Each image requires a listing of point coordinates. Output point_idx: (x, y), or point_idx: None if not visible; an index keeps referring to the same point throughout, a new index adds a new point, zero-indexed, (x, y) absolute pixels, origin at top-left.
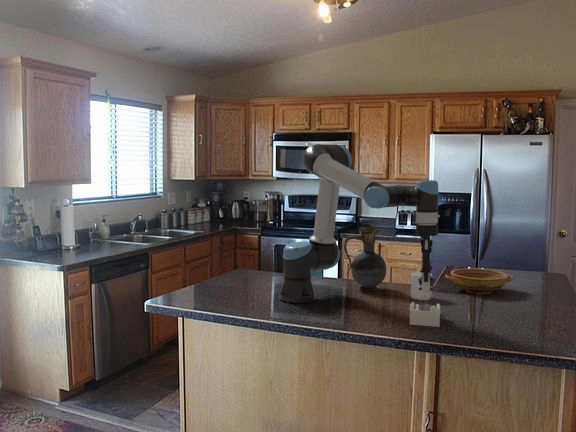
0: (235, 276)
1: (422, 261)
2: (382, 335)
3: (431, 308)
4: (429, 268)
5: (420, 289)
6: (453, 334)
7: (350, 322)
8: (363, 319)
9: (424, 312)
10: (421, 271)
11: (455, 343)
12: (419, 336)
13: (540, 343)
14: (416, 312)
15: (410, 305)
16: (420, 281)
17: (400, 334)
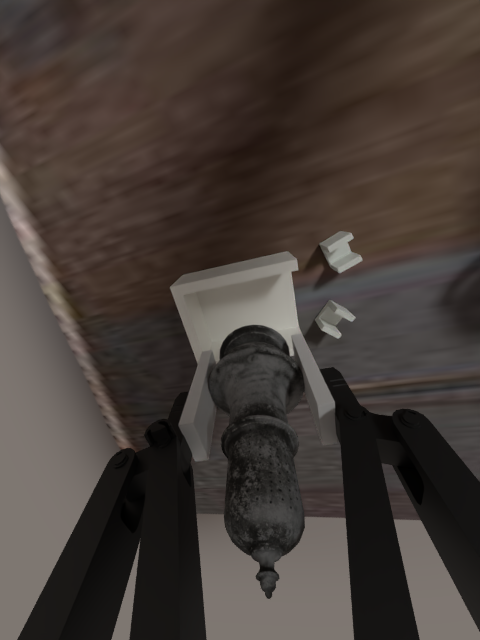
0: None
1: (243, 496)
2: (33, 230)
3: (333, 311)
4: (124, 510)
5: (231, 339)
6: (167, 381)
7: (70, 36)
8: (145, 81)
9: (186, 330)
10: (149, 435)
11: (111, 393)
12: (101, 322)
13: (203, 489)
14: (178, 306)
15: (341, 237)
16: (221, 364)
17: (81, 276)
